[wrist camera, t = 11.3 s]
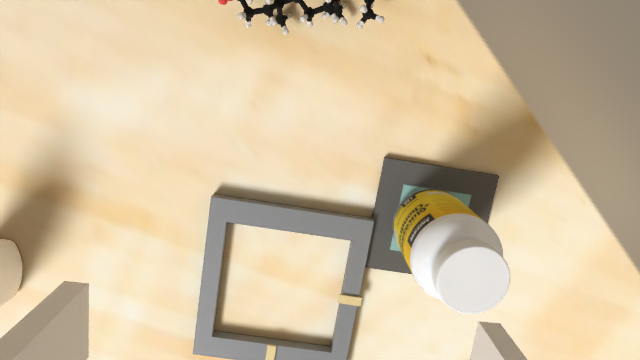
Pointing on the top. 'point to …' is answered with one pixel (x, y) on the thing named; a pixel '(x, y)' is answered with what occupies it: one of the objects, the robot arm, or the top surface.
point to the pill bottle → (451, 251)
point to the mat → (411, 178)
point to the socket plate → (265, 353)
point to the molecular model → (308, 12)
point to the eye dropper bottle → (9, 270)
